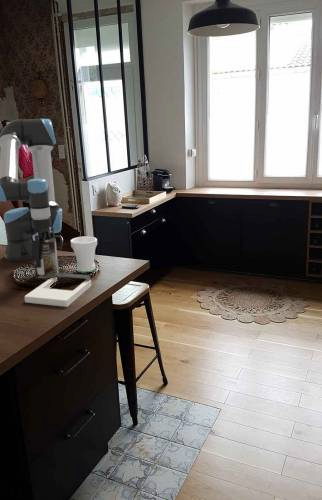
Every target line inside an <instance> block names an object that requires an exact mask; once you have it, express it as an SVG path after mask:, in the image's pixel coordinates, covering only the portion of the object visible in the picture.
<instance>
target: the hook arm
mask: <svg viewBox="0 0 322 500" xmlns="http://www.w3.org/2000/svg"><path fill="white" fill-rule="evenodd" d="M56 276H58V277H62V278H63V277H64V278H73V279H74V278H77V279H85V281H90V280H91V275H88V274H78V273H77V274H76V273H67V272H66V273H62V272H59V273H55V272H53V273H52V278H56Z"/></svg>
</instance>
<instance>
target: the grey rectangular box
mask: <svg viewBox="0 0 322 500" xmlns="http://www.w3.org/2000/svg"><path fill="white" fill-rule="evenodd" d="M56 240H57V239H56V237H55V238H51V239H46V240H45V242H44V243H43V251H42V259H43V264H44V273H45V274H44V275H39V274H38V271H37V265H36V260H33V264H34V265H33V266H34V274H35V279H36V278H47V277H52V273H53V272H55V273H60V272H59V262H58V252H57V250H58V249H56V245H57V241H56Z"/></svg>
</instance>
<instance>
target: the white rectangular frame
mask: <svg viewBox="0 0 322 500" xmlns="http://www.w3.org/2000/svg"><path fill="white" fill-rule="evenodd" d="M56 281H58V278H57V277H56V278H50V279H46V280H45V281H44V282H43V283H41V284H40V285H39V286H37V287H35V288H34V289H33V290H31V291H30V292H29V293H27V294H26V295H25V294H24V303H30V304H37V305H38V304H39V305H48V306H55V307H57V306H58V307H65V308H68V307H69V306H70V305H71V304H72V303H73V302H75V301H76V300H77V299H78V298H80V297H81V296H82V295H83V294H84V293H85V292H86V291H87V290H89V289H90V288H91V287H92V280H91V279H90V281H86V280H84V281H83V282H81V284H79V285H78V286H76V288H74V289H73V290H69V289H58V288H52V287H50V286H51V285H52V284H53V283H54V282H56Z"/></svg>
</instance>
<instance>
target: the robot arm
mask: <svg viewBox="0 0 322 500" xmlns="http://www.w3.org/2000/svg"><path fill="white" fill-rule="evenodd" d="M55 144H57V141H56V137H55V133H54V128H53V123H52V120H51V119H49V118H28V119H27V118H26V119H23V118H22V119H21V118H20V119H14V120H11V121H10V122H8V123H7V124H6V125H5V126H4V127H3V128H2V130H1V131H0V202H13V201H14V202H15V201H27V200H29V207H27V206H26V207H18V208H13V209H9V210H8V211H6V212H4V215H3V219H4V220H3V221H4V222H3V223H4V228H5V235H6V240H7V241H6V242H7V243H6V247H5V252H4V256H5V259H6V261H9V262H25V261H28V260H33V261H34V260H36V265H37V271H38V274H39V275H44V274H45V273H44V264H43V259H42V251H43V243H44V242H45V240H46V239H51V238H56V237H55V234H57V233H60V232H61V231H62V228H63V227H62V226H63V225H62V222H63V208H61V207H60V206H59V204H58V203H57V202H56V197H55V187H54V185H55V184H54V176H53V166H52V165H53V164H52V154H51V152H52V150H53V149H54V145H55ZM21 146H27V149H28V150H29V151H30V152H31V157H32V168H33V178H31V179H29V180H27V181H19V149H20V148H21ZM56 250H58V245H57V244H56Z"/></svg>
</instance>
